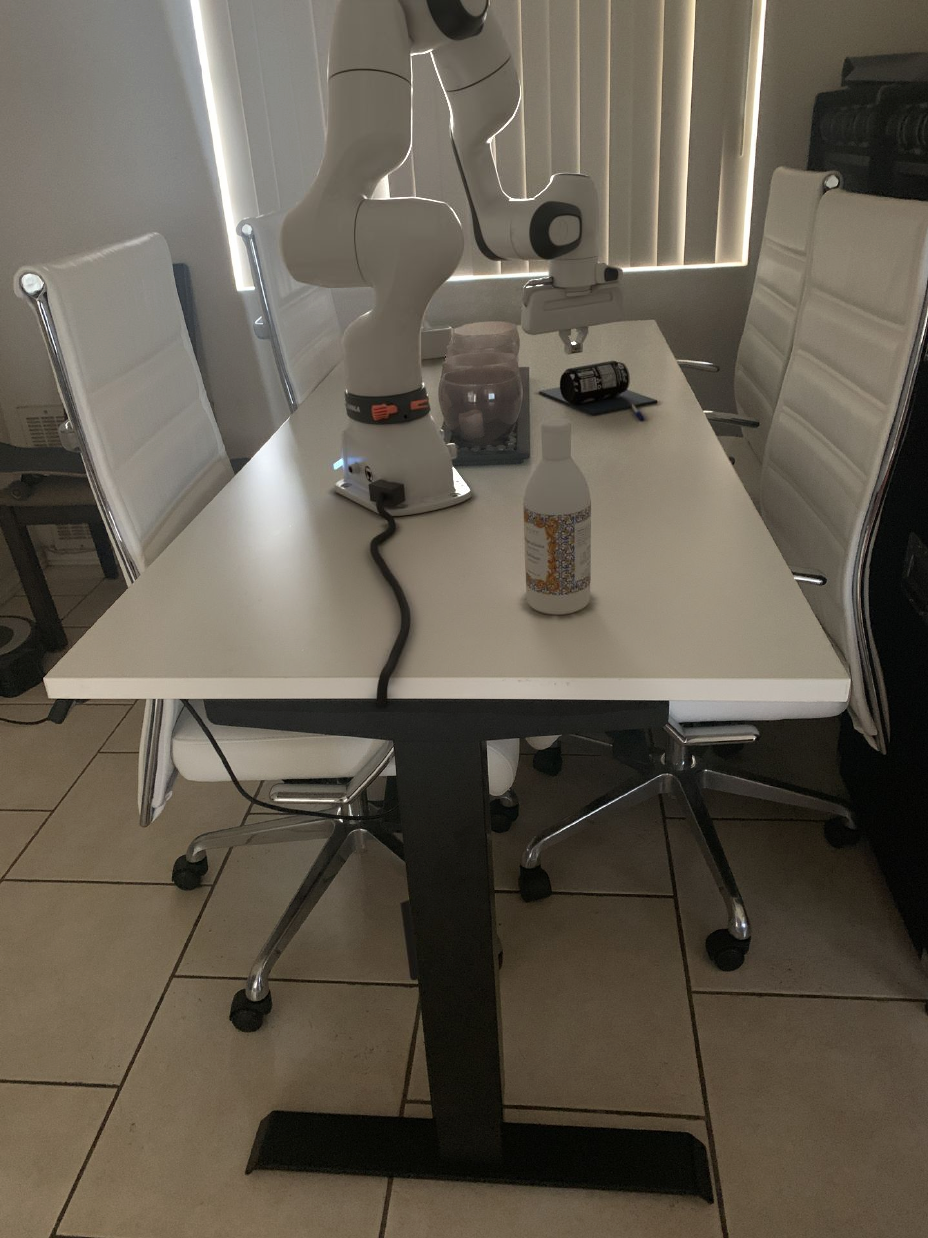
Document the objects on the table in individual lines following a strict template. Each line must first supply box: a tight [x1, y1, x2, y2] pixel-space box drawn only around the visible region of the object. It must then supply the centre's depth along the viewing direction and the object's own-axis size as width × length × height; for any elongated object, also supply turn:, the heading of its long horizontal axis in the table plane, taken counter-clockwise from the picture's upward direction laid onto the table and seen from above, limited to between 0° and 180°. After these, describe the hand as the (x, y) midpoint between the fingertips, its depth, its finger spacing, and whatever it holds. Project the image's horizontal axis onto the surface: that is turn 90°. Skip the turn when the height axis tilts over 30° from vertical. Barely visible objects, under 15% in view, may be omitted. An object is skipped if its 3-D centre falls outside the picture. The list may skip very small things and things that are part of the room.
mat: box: [538, 386, 658, 416], centre depth 170 cm, size 20×14×1 cm
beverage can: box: [559, 360, 631, 405], centre depth 166 cm, size 7×7×12 cm
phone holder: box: [421, 314, 453, 361], centre depth 214 cm, size 17×10×18 cm, turn 15°
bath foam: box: [522, 418, 592, 616], centre depth 92 cm, size 7×7×20 cm
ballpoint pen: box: [630, 404, 645, 422], centre depth 160 cm, size 10×1×1 cm, turn 3°
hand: (573, 352), depth 164 cm, fingers closed
